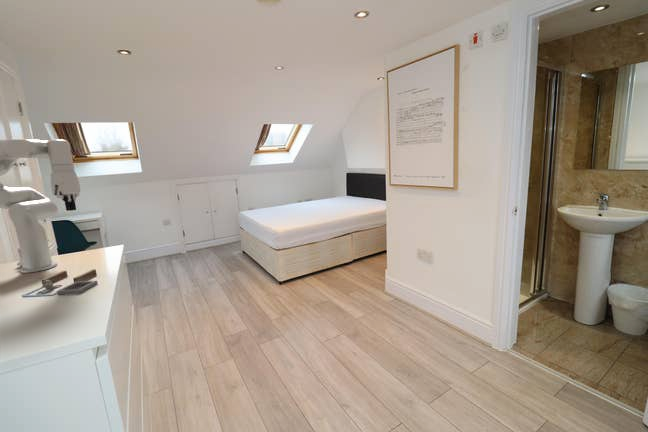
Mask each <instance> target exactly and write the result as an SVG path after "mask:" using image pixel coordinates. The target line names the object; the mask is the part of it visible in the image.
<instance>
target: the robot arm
mask: <svg viewBox="0 0 648 432" xmlns="http://www.w3.org/2000/svg"><path fill="white" fill-rule="evenodd" d="M19 159H49V162H50V167H51V170H52V172H51V173H50V185H51V186H50V187H51V191H52V195H54V196H56V199H60V200H62V202H64V206H65V210H66V211H71V212H72V211H76V210H77V206H76V198H77V197H80V193H81V185H80V182H79V178H78V175H77V173H76V171H75V166H74V165H75V164H74V160H73V155H72V149H71V144H70V142H69V141H68V140H66V139H50V140H49V139H48V140H40V139H20V138H19V139H10V138H9V139H0V177H2V176H3V175H6V174H7V173H8V172H9V171H10V170H11V168H12V167H13V165H15V163H16V162H17V160H19ZM0 208H1V209H3V210H8V213H7V214H8V216H9V219H10V220H11V222H12V225H13V227H14V229H15V233H16V237H17V242H18V244H19V245H18V246H19V248H20V250H21V254H22V258H23V260H19V262H17V263H16V266H21V268H20V273H23V274H27V273H29V274H30V273H35V272H41V271H45V270H49V269H52V268H54V267H56V266H58V263H57V262H56V261H53V259H52V255H51V252H50V251H51V250H50V246H49V242H48V237H47V233H46V229H45V227H44V226H43V225H42V224H41V223H40V222H39V221H43V220H44V221H45V220H48V219H52V218H54V217H56V216H57V214H58V212H59V209H58V206H57V204H55V202H54V201H53V200H52V199H50V198H49V197H48V196H46V195H44V194H43V193H40V192H39V191H38V190H36V189H35V188H32V187H27V186H26V187H25V186H21V187H20V186H19V187H9V186H7V185H4V184H3V183H2V182H0Z"/></svg>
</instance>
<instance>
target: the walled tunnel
mask: <svg viewBox="0 0 648 432" xmlns="http://www.w3.org/2000/svg"><path fill="white" fill-rule="evenodd" d="M95 276H97V270H96V268H95V269H94V268H93V269H92V268H91V269H90V270H87V271H86V272H84V273H82V274H79V275H77V276H75V277H73V278H72V280H73V283H75V282H77V281H88V280H89V279H91V278H93V277H95ZM66 277H68V272H67V270H61V271H60V272H57V273H55V274H52V275H49V276H47V277H45V278H41V283H42V286H44V281H46V280H49V281H52V283H53V284H54V283H56V282H58V281H60V280H63V279H64V278H66ZM45 283H46V284H48V283H50V282H45Z"/></svg>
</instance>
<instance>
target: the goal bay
mask: <svg viewBox="0 0 648 432" xmlns="http://www.w3.org/2000/svg"><path fill="white" fill-rule="evenodd" d="M41 289H45V286H43V285H42V286H40V287H38V288H36V289H33V290H31V291H29V292H26V293H24V294H21V296H22V298H28V297H31V298H32V297H51V296H55V295H57V291H55V292H53V293H46V294H41V295H36V294H33V293H35V292H38V291H39V290H41Z"/></svg>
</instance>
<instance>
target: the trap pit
mask: <svg viewBox="0 0 648 432" xmlns="http://www.w3.org/2000/svg"><path fill="white" fill-rule="evenodd" d="M97 285H98V280H85V281H77V282H75V283H74V282H73V283H71V284H68V285H67V286H64V287H63V288H61V289H58V290H56V292H57V294H56V296H57V295H58V296H67V295H68V296H69V295H70V294H71V295H80V294H82V293H84V292H86V291H88V290H90V289H92V288H93V287H95V286H97Z"/></svg>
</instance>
